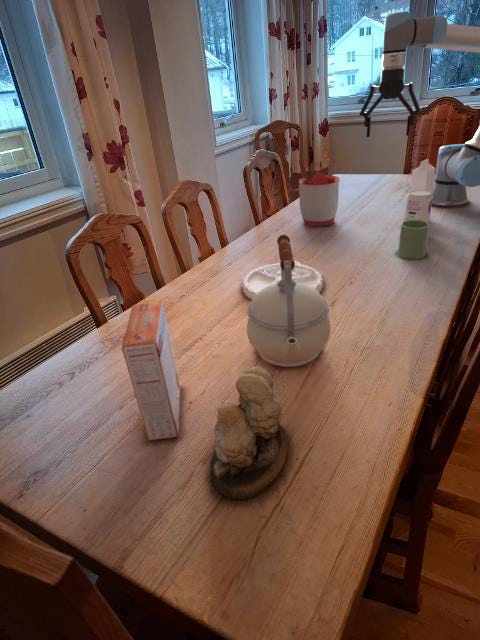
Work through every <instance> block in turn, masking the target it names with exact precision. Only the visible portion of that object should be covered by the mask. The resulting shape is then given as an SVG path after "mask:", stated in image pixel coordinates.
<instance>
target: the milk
mask: <svg viewBox="0 0 480 640" xmlns="http://www.w3.org/2000/svg"><path fill="white" fill-rule="evenodd" d="M429 160H430V159H429V158H427V159H424V160H422V161H420V165H419V166H417V167H416V168H414V169H412V170H411V177H410V184H409V192H410V191H414V190H425V191H430V192H431V195H432V190H433V185H434V182H435V175H436V167H434V166H433V165H432V164H431V163H430V161H429Z"/></svg>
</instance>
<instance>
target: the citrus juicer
mask: <svg viewBox="0 0 480 640" xmlns="http://www.w3.org/2000/svg"><path fill="white" fill-rule="evenodd" d="M298 184H299V185H298V187H299V188H298V192H299V194H298V195H299V196H298V197H299V210H300V214H301V218H302V221H303V222H304V224H305V225H307V226H310V227H314V228H315V227H322V226H329V225H332V224H333V223H334V221H335V219H336V215H337V212H338V207H339V192H340V191H339V190H340V189H339V188H340V177H338V176H336V175H329V174H324V173H323V172H321V171H317V172H316V173H315V174H314V175H313V176H312V178H311V180H310V181H308V179H307V178H305V177H302V178H299V179H298Z"/></svg>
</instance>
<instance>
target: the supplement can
mask: <svg viewBox="0 0 480 640" xmlns="http://www.w3.org/2000/svg"><path fill="white" fill-rule="evenodd" d="M432 206H433V205H432V195H431V192H430V191H425V190H414V191H410V190H409V192H408V194H407V195H406V199H405V208H404V218H403V222H404V221H408V220H421V221H426V222H428V223H429V224H430V220H431V219H430V218H431V212H432Z"/></svg>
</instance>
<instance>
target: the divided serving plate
mask: <svg viewBox="0 0 480 640" xmlns="http://www.w3.org/2000/svg"><path fill="white" fill-rule="evenodd" d="M293 261H294V263H295V266H294V269H293V270H292V280H293V281H294V282H296V283H301V284H305V285H308V286H310V287H312V288H314V289H315V290H316V291H318V292H319V294H320V293H321V292H322V290H323V287H324V280H323V274H322V273H320V272H319V270H318V269H315V268H314V267H313V266H309V265H307V264H301V262H299V261H297V260H293ZM280 263H281V262H280ZM280 263H279V262H276V263H271V264H270V263H269V264H266V265H263V266H259V267H257V268H254V269H251V271H250V272H247V273H246V275H245V276H244V277H243V278H242V279H243V281H242V291H243V294H244V295H245V296H246V297H247V298H249V299H250V300H251V301H252V300H253V298H254V297H255V296H256V294H257V293H258V292H259V291H261V290H262V289H264V288H266V287H268V286H270V285H273V284H277V283H278V282H279V281H280V280H281V266H280Z"/></svg>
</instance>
